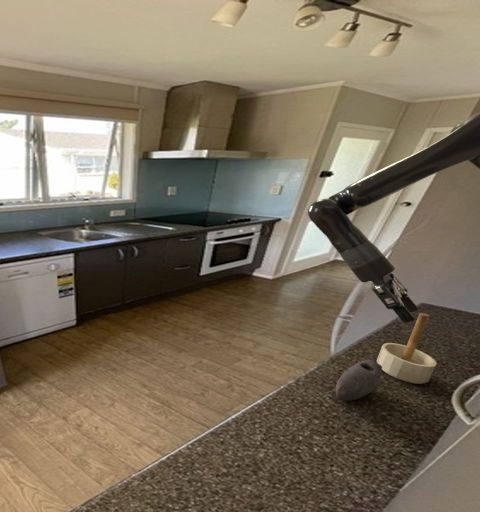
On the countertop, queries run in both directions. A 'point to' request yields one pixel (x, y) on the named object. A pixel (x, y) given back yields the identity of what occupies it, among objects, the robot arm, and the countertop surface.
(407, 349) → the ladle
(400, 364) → the bowl
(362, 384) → the perforated stone tool
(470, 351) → the countertop surface
